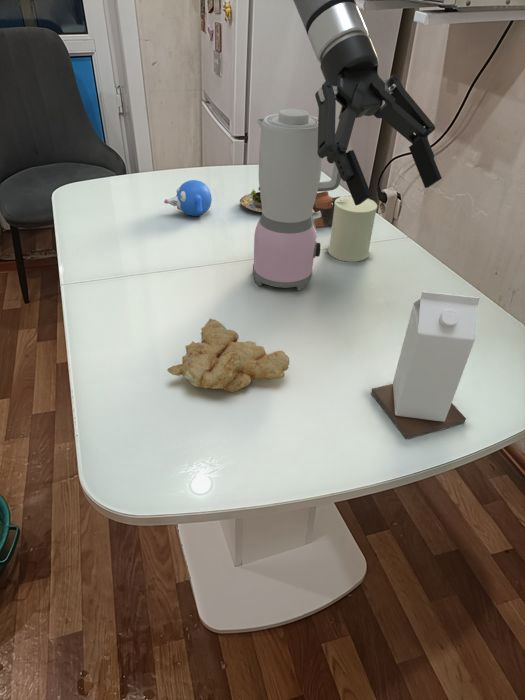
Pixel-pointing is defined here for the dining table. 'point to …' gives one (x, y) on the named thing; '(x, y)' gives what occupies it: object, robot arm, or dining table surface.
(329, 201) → the pottery mug
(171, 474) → the dining table surface
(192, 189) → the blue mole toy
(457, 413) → the coaster board
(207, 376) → the ginger root
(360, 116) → the robot arm
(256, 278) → the blender
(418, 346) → the milk carton
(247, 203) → the plate of food
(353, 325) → the dining table surface
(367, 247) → the can
